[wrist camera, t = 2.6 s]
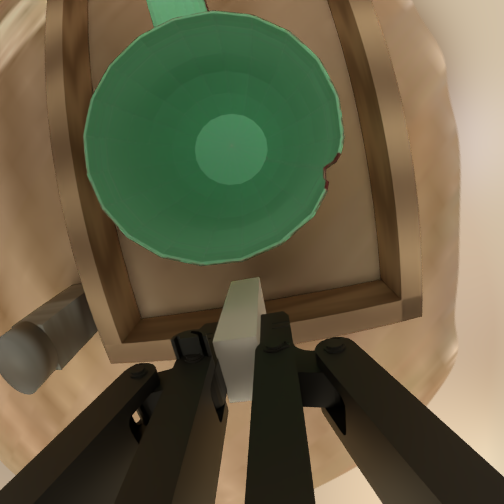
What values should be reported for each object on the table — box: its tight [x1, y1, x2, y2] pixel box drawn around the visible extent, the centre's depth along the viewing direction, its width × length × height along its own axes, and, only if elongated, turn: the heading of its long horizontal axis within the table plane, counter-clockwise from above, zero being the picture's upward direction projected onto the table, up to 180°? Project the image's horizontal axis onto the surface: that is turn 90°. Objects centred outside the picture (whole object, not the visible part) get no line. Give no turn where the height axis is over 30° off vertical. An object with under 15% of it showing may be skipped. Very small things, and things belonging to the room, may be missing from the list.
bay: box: [0, 0, 422, 394], centre depth 15 cm, size 29×25×10 cm
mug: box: [83, 0, 345, 266], centre depth 15 cm, size 15×10×10 cm
